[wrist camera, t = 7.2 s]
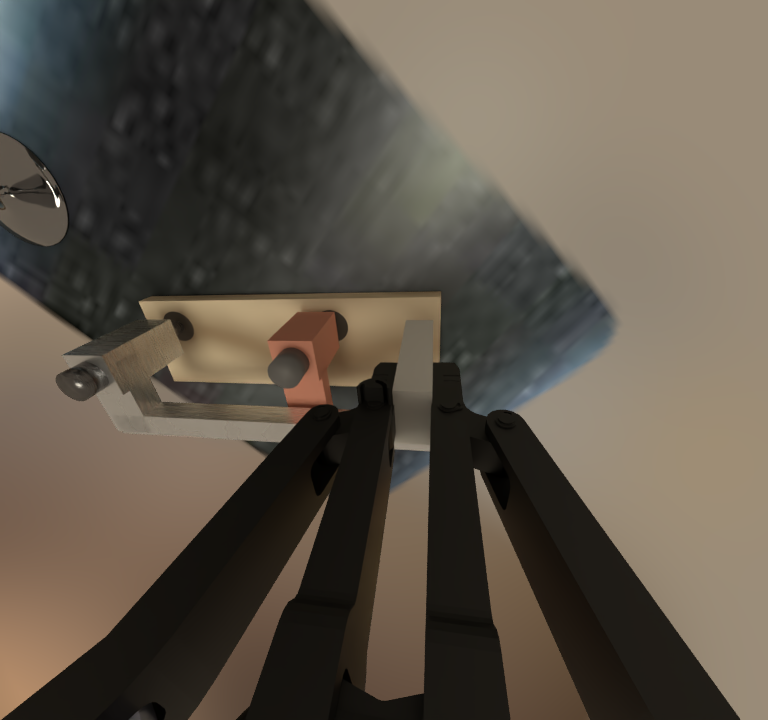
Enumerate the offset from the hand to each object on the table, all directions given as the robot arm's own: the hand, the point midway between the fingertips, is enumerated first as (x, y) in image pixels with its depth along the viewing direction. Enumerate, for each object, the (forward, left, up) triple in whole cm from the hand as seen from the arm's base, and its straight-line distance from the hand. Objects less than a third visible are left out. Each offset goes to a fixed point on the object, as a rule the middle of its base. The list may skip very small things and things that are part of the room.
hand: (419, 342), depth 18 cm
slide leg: (+3, -7, -3) cm, 8 cm away
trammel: (+2, -9, -4) cm, 10 cm away
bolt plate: (+2, -10, -5) cm, 11 cm away
